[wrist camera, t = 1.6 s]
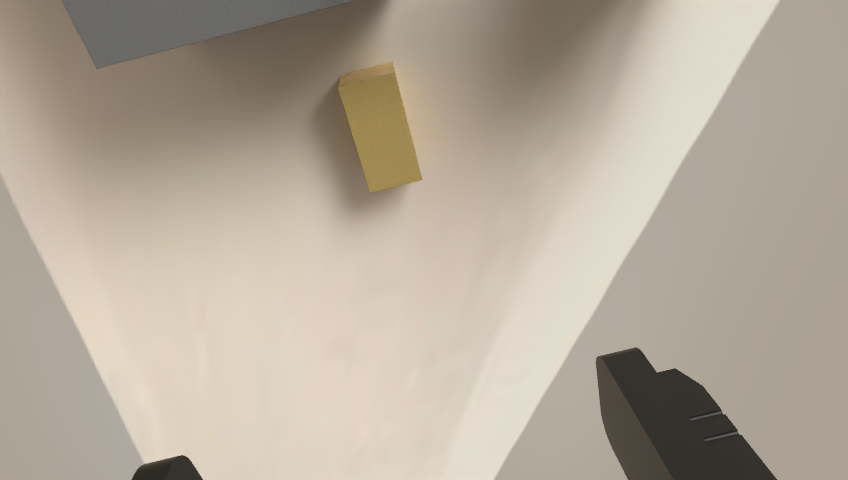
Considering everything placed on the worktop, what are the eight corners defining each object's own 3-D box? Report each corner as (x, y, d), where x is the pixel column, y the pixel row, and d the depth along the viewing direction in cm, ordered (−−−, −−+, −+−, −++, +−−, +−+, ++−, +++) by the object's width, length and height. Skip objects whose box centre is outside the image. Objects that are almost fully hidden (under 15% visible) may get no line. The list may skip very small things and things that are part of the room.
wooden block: (392, 61, 30) (394, 72, 27) (417, 159, 33) (422, 179, 30) (341, 74, 30) (337, 87, 27) (370, 171, 33) (370, 192, 30)
